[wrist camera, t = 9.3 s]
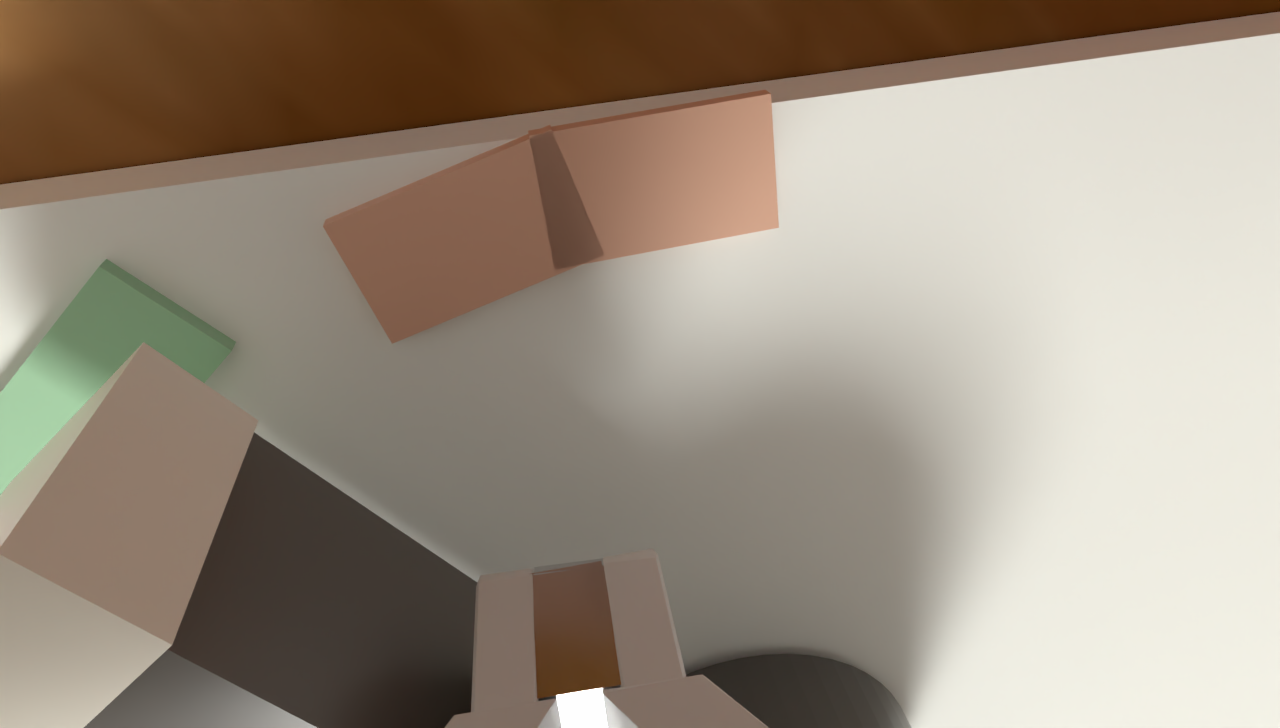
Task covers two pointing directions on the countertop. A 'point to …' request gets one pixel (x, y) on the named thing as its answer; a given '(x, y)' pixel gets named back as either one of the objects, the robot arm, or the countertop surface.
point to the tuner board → (767, 356)
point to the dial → (259, 589)
